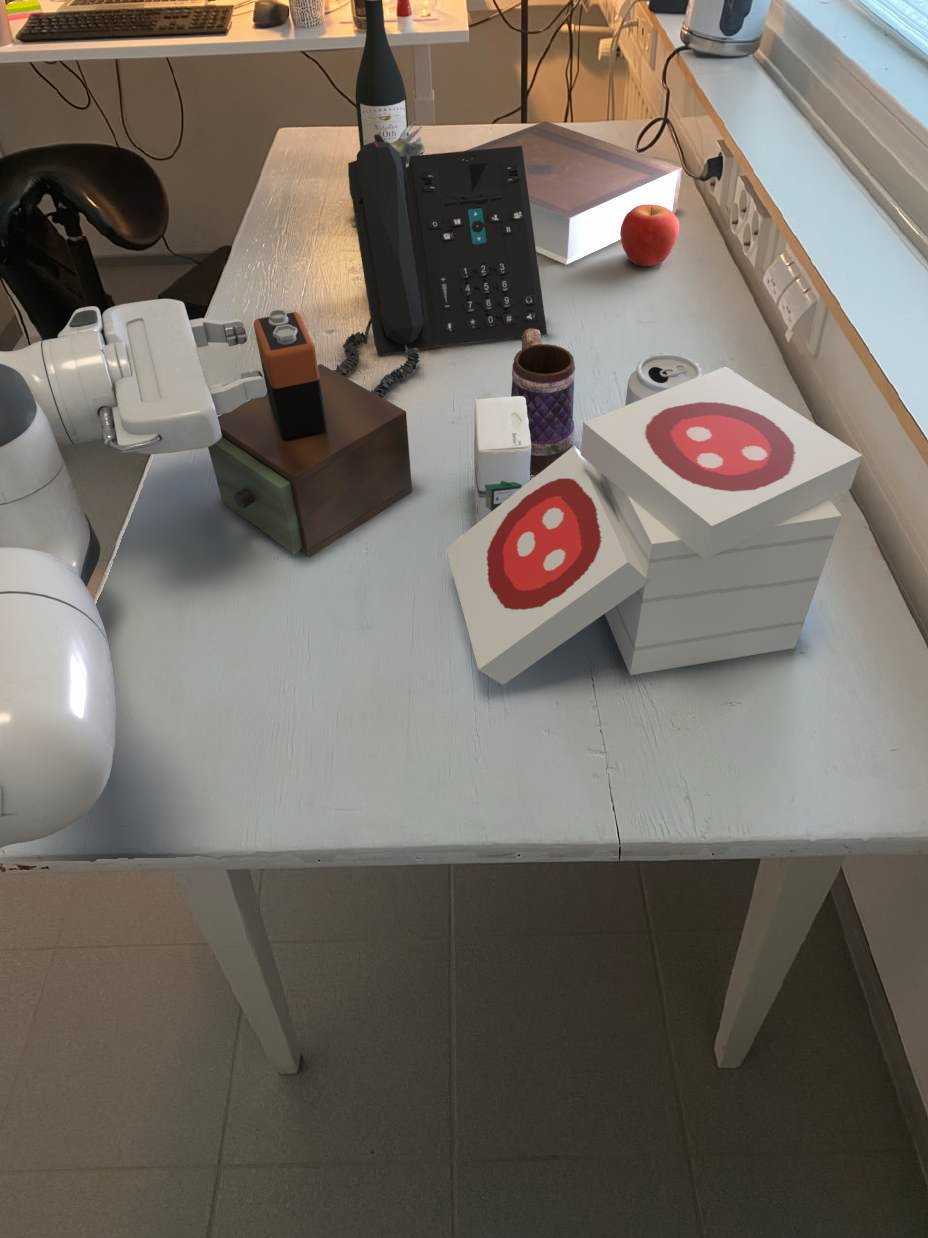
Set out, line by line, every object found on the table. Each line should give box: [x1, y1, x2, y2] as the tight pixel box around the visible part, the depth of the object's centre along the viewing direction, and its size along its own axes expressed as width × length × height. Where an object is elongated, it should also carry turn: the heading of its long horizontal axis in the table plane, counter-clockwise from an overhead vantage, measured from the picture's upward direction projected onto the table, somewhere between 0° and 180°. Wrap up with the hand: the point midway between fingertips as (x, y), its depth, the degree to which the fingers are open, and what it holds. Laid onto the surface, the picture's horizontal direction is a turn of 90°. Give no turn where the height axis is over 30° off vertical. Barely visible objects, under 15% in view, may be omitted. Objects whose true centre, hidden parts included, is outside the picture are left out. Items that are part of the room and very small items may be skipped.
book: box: [465, 120, 683, 265], centre depth 141 cm, size 24×28×7 cm
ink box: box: [473, 396, 531, 524], centre depth 89 cm, size 9×5×12 cm, turn 2°
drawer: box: [207, 437, 303, 554], centre depth 91 cm, size 14×12×8 cm
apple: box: [619, 204, 680, 267], centre depth 128 cm, size 8×8×8 cm
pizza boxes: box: [445, 366, 863, 686], centre depth 77 cm, size 19×30×18 cm, turn 101°
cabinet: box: [217, 363, 413, 558], centre depth 93 cm, size 14×13×10 cm
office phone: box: [332, 141, 548, 399], centre depth 110 cm, size 29×28×20 cm
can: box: [624, 353, 703, 406], centre depth 94 cm, size 8×8×12 cm
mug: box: [510, 328, 576, 474], centre depth 97 cm, size 10×7×12 cm
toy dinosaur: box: [348, 120, 425, 229], centre depth 138 cm, size 22×8×11 cm, turn 154°
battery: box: [253, 309, 327, 440], centre depth 85 cm, size 4×7×10 cm, turn 19°
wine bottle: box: [354, 0, 409, 169], centre depth 144 cm, size 8×8×30 cm
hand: (254, 355), depth 83 cm, fingers open, 8 cm apart
